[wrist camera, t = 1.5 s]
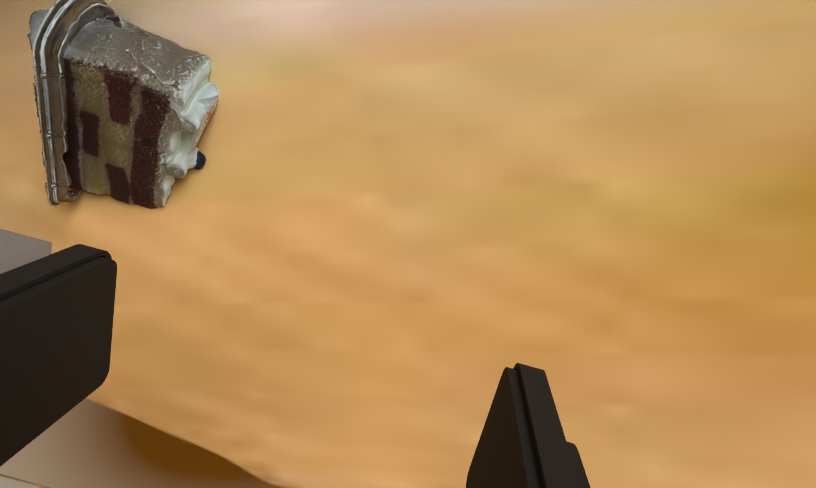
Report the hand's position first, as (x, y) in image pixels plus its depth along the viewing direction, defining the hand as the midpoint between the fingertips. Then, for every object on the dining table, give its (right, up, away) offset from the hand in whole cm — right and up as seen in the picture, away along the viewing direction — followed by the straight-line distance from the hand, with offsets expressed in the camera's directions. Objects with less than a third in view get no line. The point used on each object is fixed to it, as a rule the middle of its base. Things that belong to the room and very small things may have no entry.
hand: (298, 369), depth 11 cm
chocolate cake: (-12, +9, +18) cm, 23 cm away
